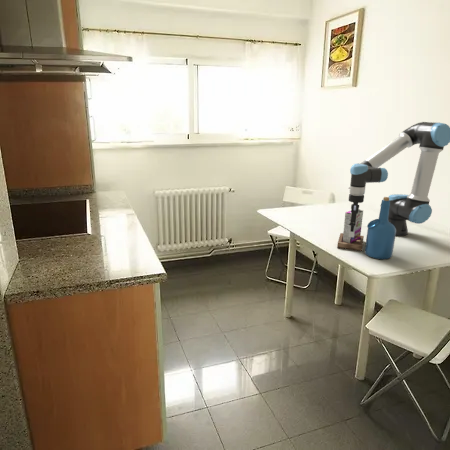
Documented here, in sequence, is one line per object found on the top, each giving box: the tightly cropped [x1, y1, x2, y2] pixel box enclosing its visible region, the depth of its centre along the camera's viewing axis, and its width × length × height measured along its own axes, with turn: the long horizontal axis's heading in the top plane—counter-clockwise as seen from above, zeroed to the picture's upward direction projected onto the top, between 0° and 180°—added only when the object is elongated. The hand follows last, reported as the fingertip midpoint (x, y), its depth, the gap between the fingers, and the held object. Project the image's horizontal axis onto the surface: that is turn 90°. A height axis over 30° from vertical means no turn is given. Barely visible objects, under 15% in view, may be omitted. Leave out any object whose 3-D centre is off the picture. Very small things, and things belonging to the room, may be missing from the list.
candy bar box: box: [342, 208, 364, 243], centre depth 205 cm, size 11×5×16 cm, turn 134°
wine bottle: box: [364, 196, 397, 260], centre depth 188 cm, size 14×13×30 cm
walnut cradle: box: [336, 232, 365, 252], centre depth 207 cm, size 12×18×3 cm
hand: (351, 233), depth 206 cm, fingers closed on candy bar box, 12 cm apart
